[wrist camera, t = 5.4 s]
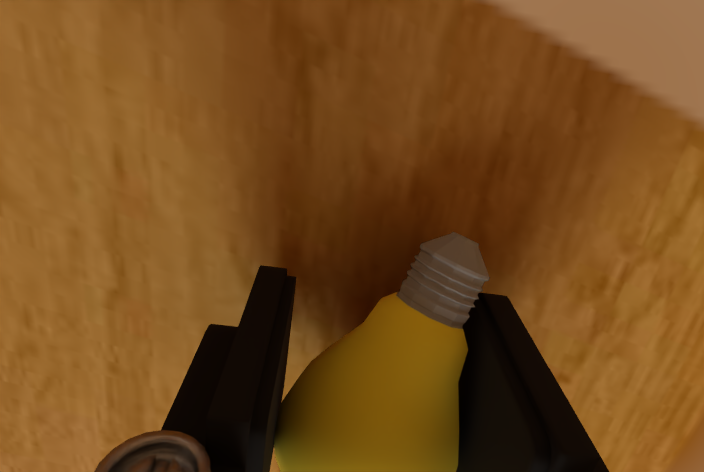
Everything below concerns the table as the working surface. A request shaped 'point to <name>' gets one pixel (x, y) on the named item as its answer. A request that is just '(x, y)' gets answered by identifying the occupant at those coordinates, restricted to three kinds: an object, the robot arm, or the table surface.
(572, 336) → the table surface
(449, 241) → the light bulb
